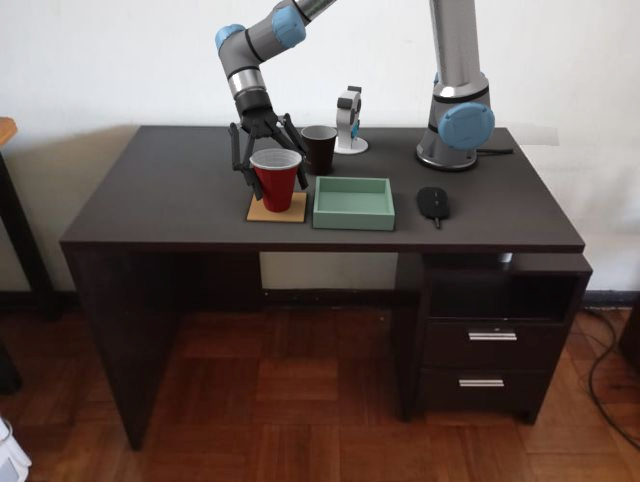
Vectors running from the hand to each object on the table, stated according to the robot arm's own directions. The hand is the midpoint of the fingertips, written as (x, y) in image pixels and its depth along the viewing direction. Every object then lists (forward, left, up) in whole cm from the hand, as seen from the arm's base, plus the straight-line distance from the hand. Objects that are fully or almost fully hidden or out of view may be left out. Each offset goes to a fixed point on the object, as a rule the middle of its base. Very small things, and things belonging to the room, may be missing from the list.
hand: (283, 193), depth 106 cm
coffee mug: (-7, -23, -5) cm, 24 cm away
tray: (-15, -3, -5) cm, 16 cm away
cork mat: (+2, -3, -5) cm, 6 cm away
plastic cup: (+2, -3, -5) cm, 6 cm away
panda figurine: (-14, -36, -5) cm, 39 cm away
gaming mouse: (-33, -4, -5) cm, 34 cm away
